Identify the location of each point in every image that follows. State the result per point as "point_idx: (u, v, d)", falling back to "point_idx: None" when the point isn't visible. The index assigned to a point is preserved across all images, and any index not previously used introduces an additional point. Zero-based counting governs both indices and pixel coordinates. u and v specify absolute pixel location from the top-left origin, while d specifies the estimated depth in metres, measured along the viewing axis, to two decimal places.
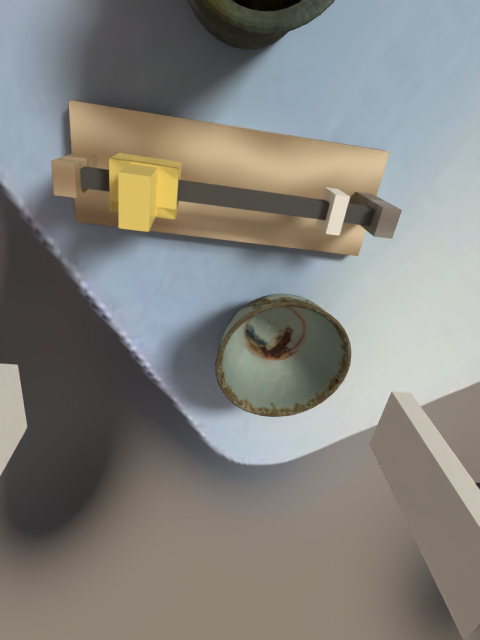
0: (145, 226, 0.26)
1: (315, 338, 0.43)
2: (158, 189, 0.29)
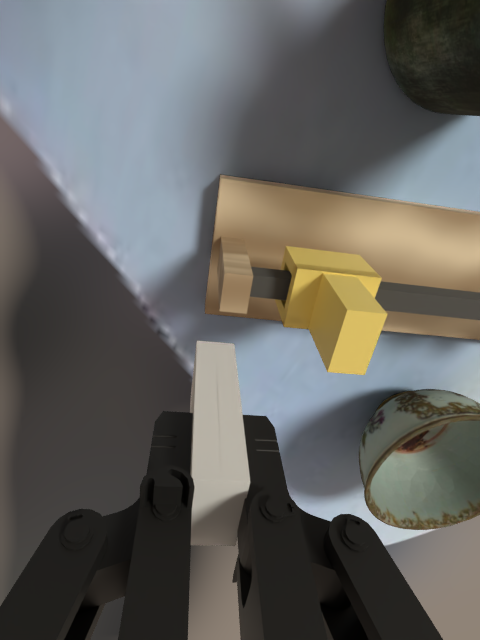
0: (362, 369, 0.20)
1: (461, 432, 0.37)
2: None
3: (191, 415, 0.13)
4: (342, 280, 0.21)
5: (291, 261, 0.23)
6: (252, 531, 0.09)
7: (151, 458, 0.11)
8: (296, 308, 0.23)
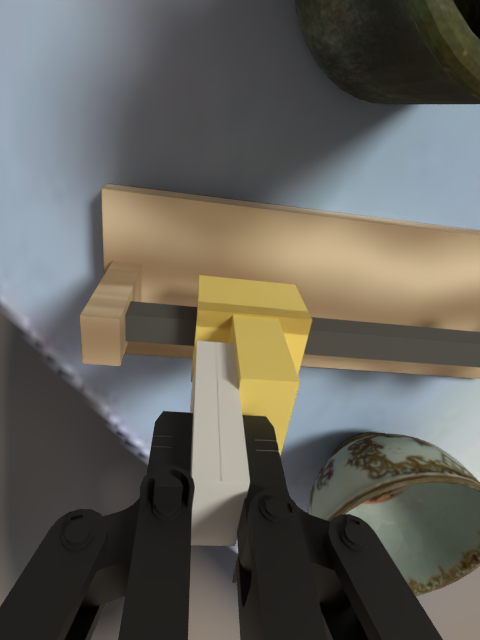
0: None
1: None
2: None
3: (191, 415, 0.13)
4: (255, 325, 0.16)
5: (198, 297, 0.18)
6: (252, 531, 0.09)
7: (151, 458, 0.11)
8: None
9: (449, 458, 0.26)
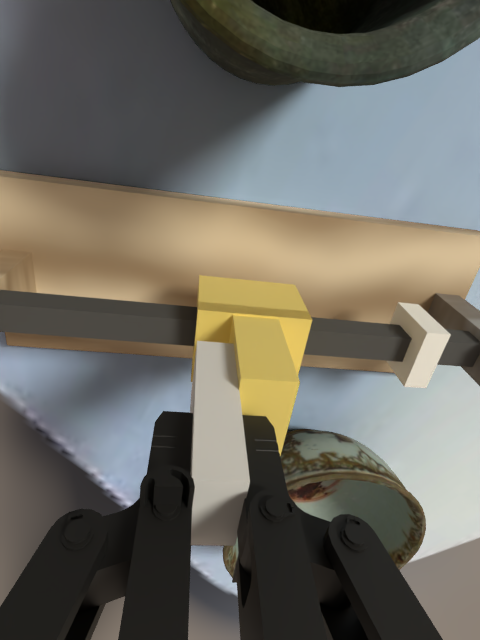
0: None
1: None
2: None
3: (191, 415, 0.13)
4: (255, 325, 0.16)
5: (198, 297, 0.18)
6: (252, 531, 0.09)
7: (151, 458, 0.11)
8: None
9: (367, 455, 0.25)
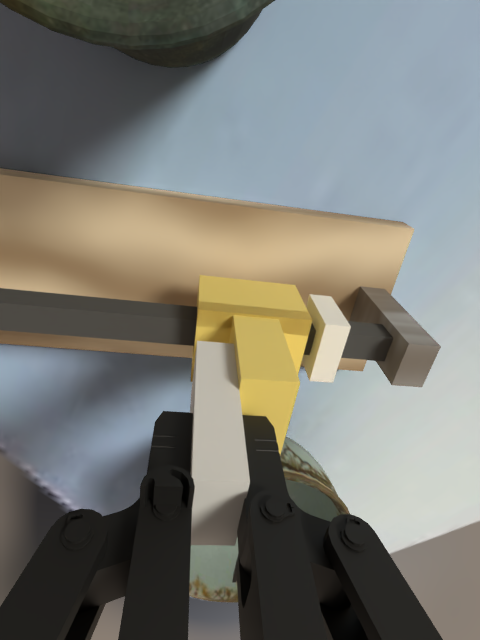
0: None
1: None
2: None
3: (191, 415, 0.13)
4: (256, 326, 0.16)
5: (198, 297, 0.18)
6: (252, 531, 0.09)
7: (151, 458, 0.11)
8: None
9: (293, 452, 0.25)
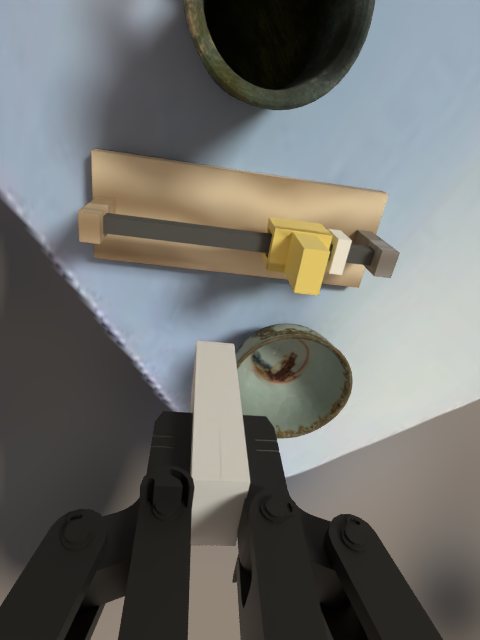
0: (316, 291, 0.30)
1: (318, 363, 0.46)
2: None
3: (191, 415, 0.13)
4: (305, 235, 0.32)
5: (272, 225, 0.34)
6: (252, 531, 0.09)
7: (151, 458, 0.11)
8: (275, 257, 0.33)
9: (316, 332, 0.41)
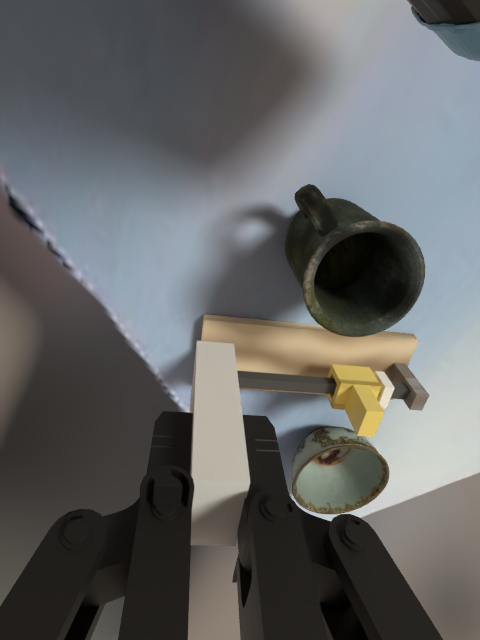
0: (373, 434, 0.43)
1: (359, 452, 0.58)
2: None
3: (191, 415, 0.13)
4: (362, 389, 0.44)
5: (336, 376, 0.46)
6: (252, 531, 0.09)
7: (151, 458, 0.11)
8: (339, 400, 0.46)
9: (361, 438, 0.53)
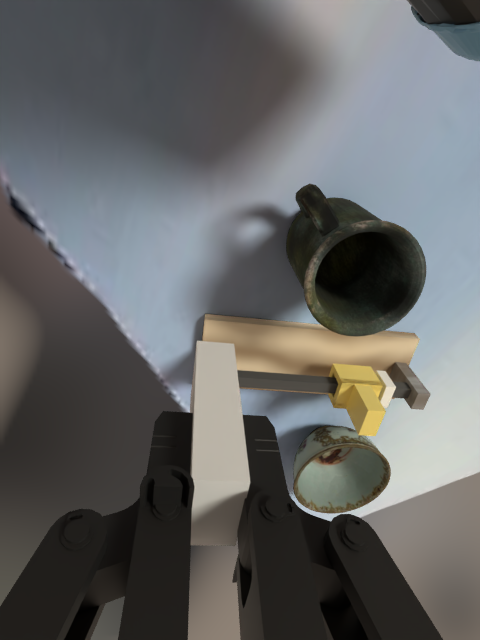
0: (374, 433, 0.43)
1: (360, 452, 0.58)
2: None
3: (191, 415, 0.13)
4: (364, 389, 0.44)
5: (337, 375, 0.46)
6: (252, 531, 0.09)
7: (151, 458, 0.11)
8: (340, 399, 0.46)
9: (362, 437, 0.53)
